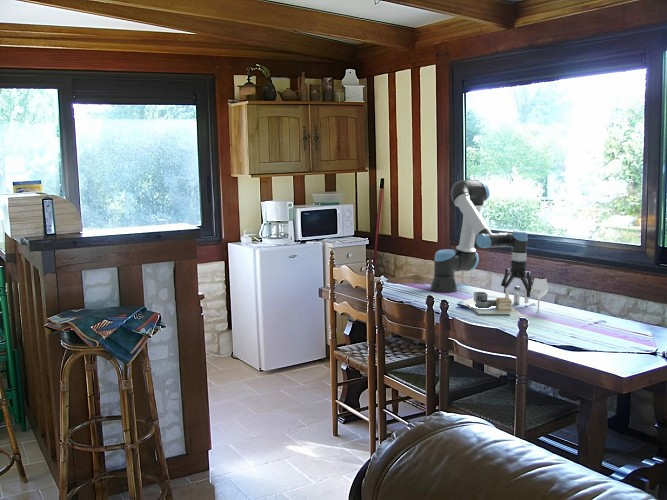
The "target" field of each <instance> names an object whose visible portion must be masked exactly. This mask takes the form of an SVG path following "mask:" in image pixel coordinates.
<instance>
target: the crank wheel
mask: <svg viewBox="0 0 667 500" xmlns="http://www.w3.org/2000/svg"><path fill="white" fill-rule="evenodd" d="M473 301H474V302H475V303H476V304H475V306H476V307H478V308H489V307H491V306H496V299H488V293H487V292H485V291H474V292H473Z"/></svg>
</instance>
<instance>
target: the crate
mask: <svg viewBox="0 0 667 500" xmlns="http://www.w3.org/2000/svg"><path fill="white" fill-rule="evenodd" d="M495 300H496V309H497V310H498V311H499V312H511V306H512V299H511V298H510V297H509V298H505V297H496V299H495Z"/></svg>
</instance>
